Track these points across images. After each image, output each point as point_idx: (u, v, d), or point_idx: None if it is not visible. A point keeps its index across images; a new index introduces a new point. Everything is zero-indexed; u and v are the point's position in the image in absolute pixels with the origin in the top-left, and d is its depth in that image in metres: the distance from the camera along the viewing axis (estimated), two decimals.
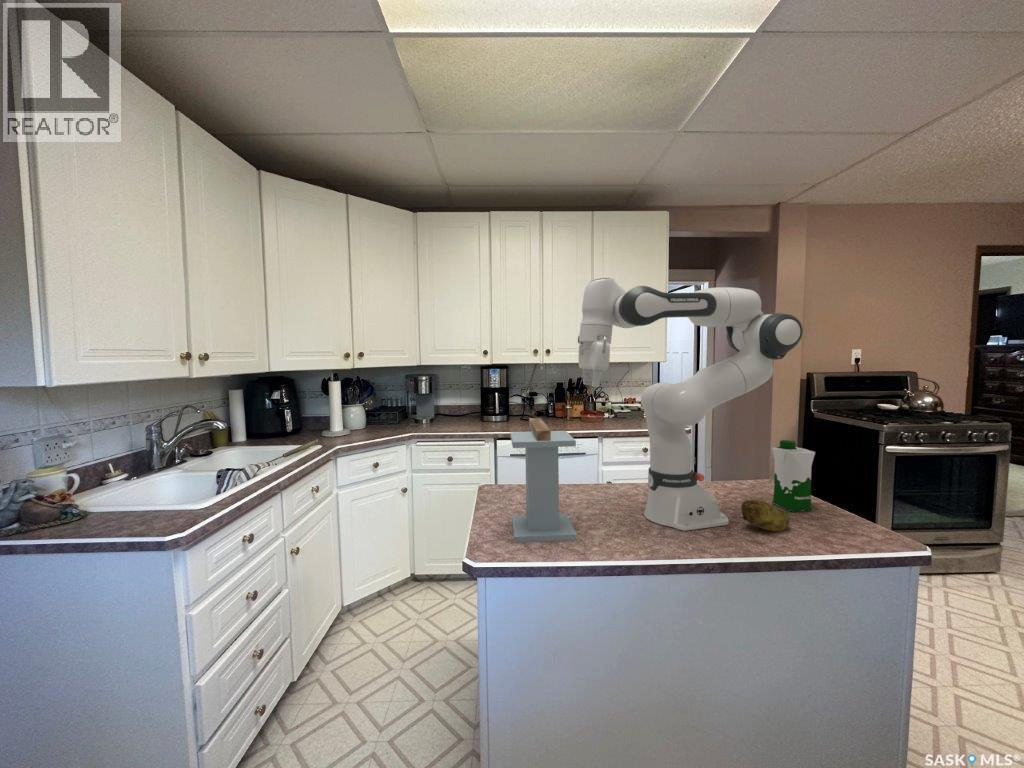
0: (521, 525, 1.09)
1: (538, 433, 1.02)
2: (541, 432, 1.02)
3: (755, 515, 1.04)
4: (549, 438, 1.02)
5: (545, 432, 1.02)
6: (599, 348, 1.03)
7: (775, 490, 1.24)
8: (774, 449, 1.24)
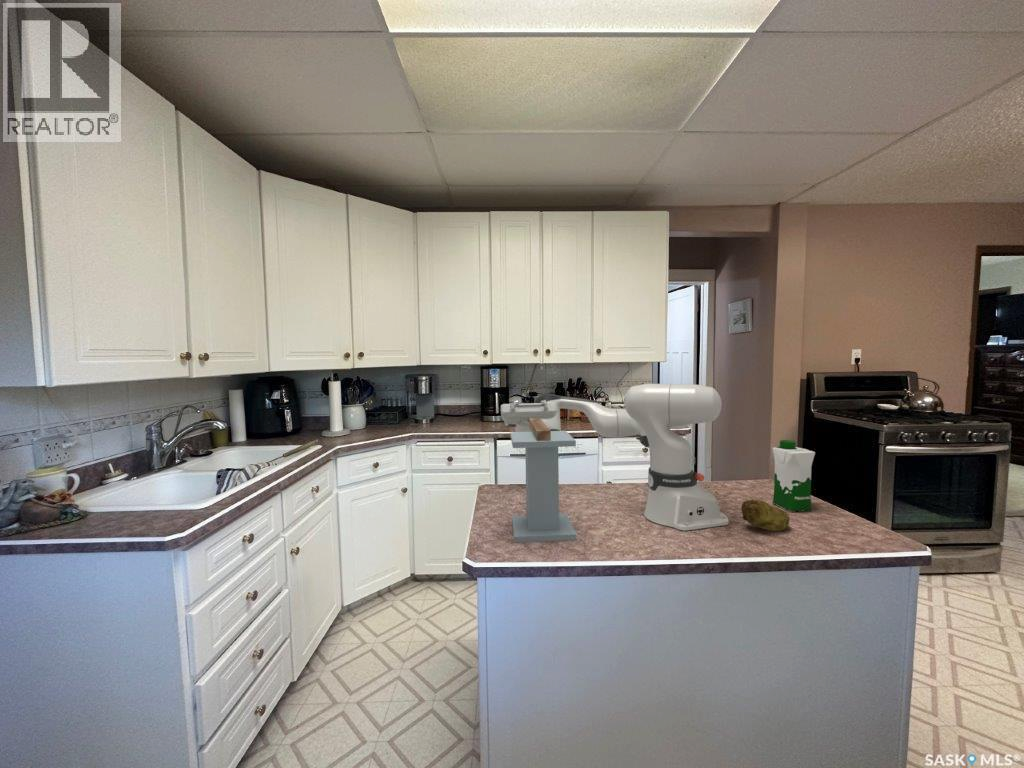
0: (521, 525, 1.09)
1: (538, 433, 1.02)
2: (541, 432, 1.02)
3: (755, 515, 1.04)
4: (549, 438, 1.02)
5: (545, 432, 1.02)
6: None
7: (775, 490, 1.24)
8: (774, 449, 1.24)
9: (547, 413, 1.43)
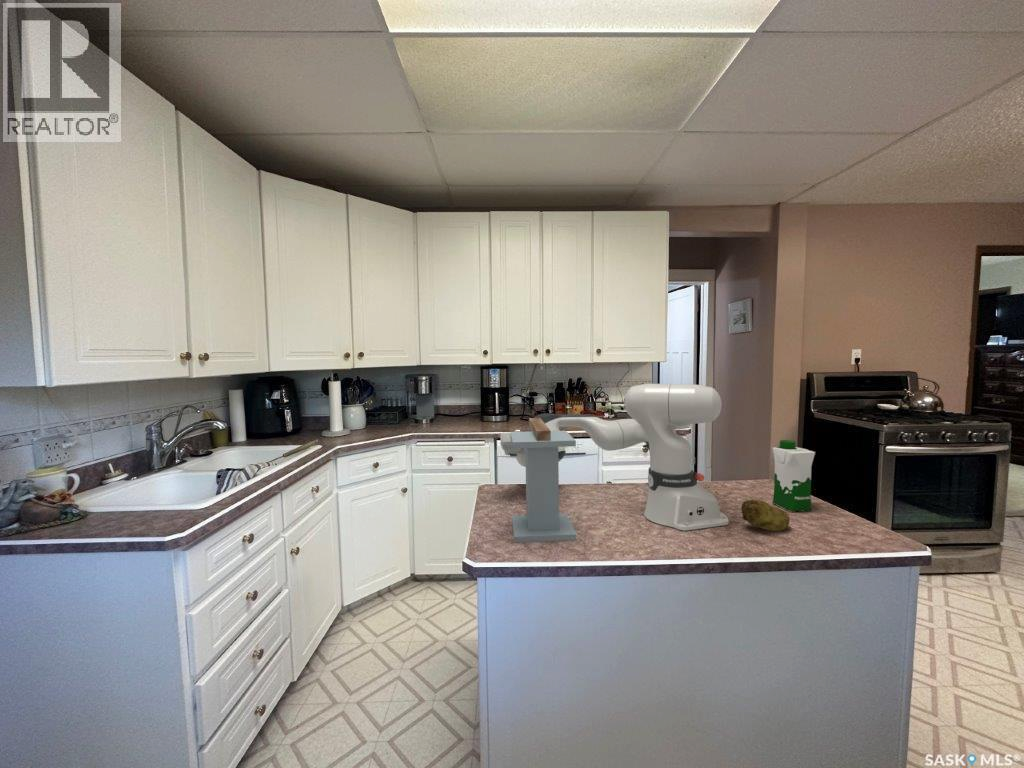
0: (521, 525, 1.09)
1: (538, 433, 1.02)
2: (541, 432, 1.02)
3: (755, 514, 1.05)
4: (549, 438, 1.02)
5: (545, 432, 1.02)
6: None
7: (775, 490, 1.24)
8: (774, 449, 1.24)
9: None
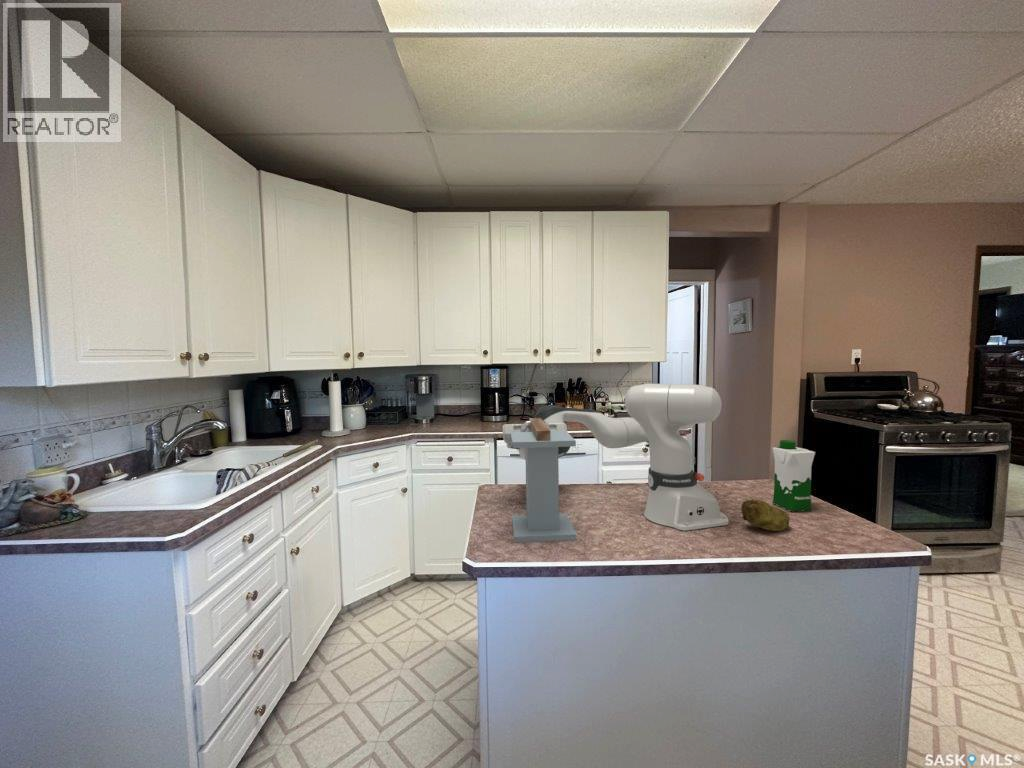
0: (521, 525, 1.09)
1: (538, 433, 1.02)
2: (541, 432, 1.02)
3: (755, 514, 1.05)
4: (549, 438, 1.02)
5: (545, 432, 1.02)
6: None
7: (775, 490, 1.24)
8: (774, 449, 1.24)
9: None
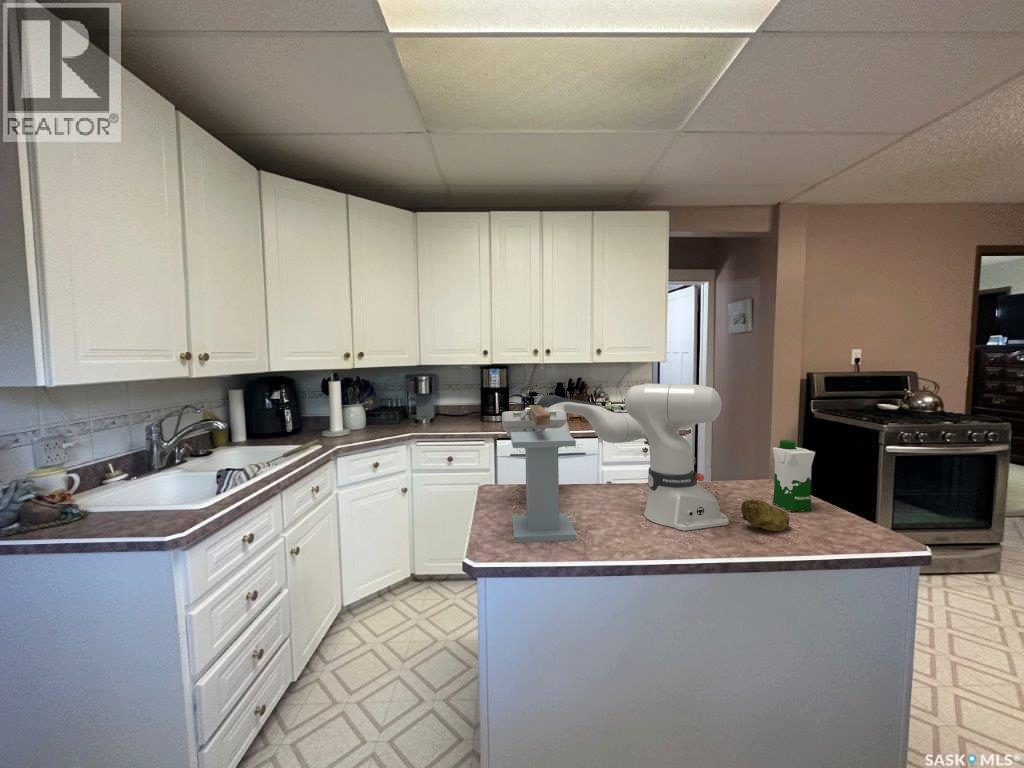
0: (521, 525, 1.09)
1: (537, 418, 1.02)
2: (540, 417, 1.02)
3: (755, 514, 1.05)
4: (548, 423, 1.02)
5: (544, 417, 1.02)
6: None
7: (775, 490, 1.24)
8: (774, 449, 1.24)
9: (555, 422, 1.24)
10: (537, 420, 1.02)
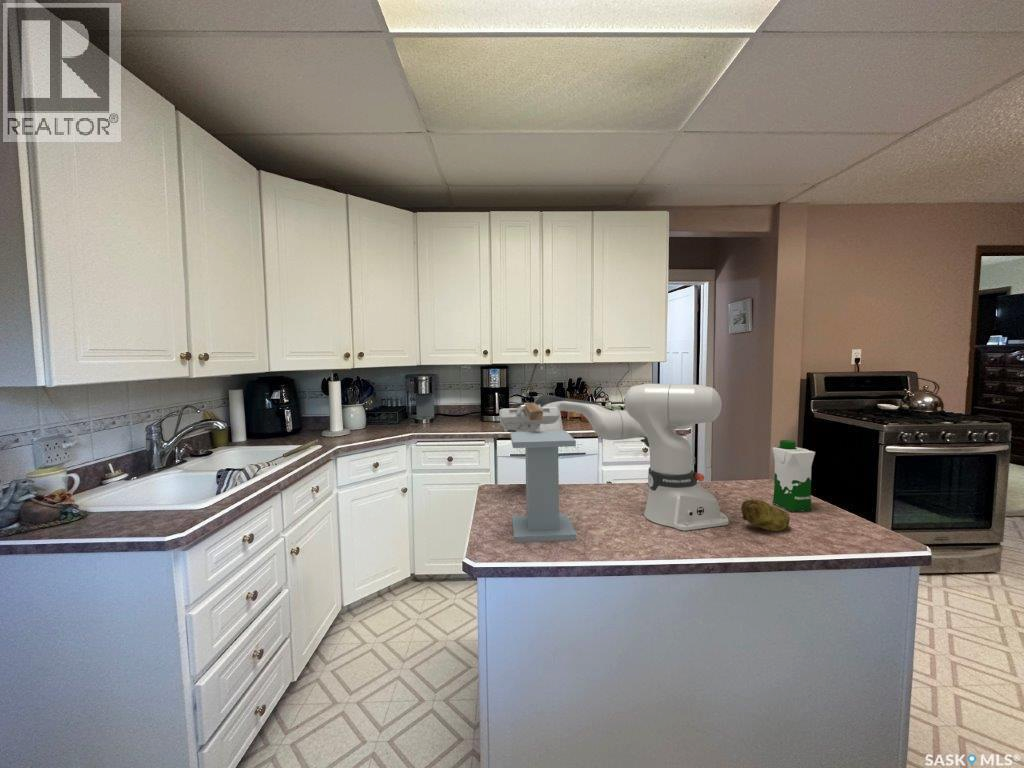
0: (521, 525, 1.09)
1: (531, 413, 1.12)
2: (534, 412, 1.12)
3: (755, 514, 1.05)
4: (541, 418, 1.12)
5: (537, 412, 1.12)
6: None
7: (775, 490, 1.24)
8: (774, 449, 1.24)
9: (549, 418, 1.34)
10: (531, 415, 1.12)
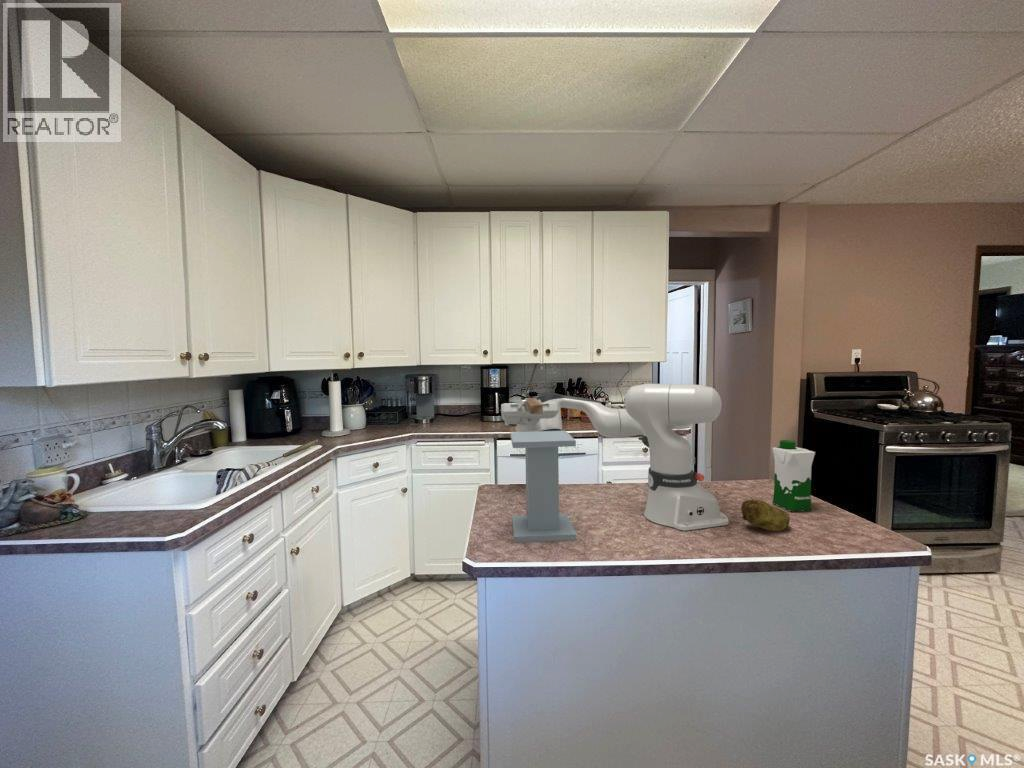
0: (521, 525, 1.09)
1: (532, 407, 1.18)
2: (534, 406, 1.18)
3: (755, 514, 1.05)
4: (541, 411, 1.18)
5: (538, 406, 1.18)
6: None
7: (775, 490, 1.24)
8: (774, 449, 1.24)
9: (548, 412, 1.40)
10: (531, 409, 1.18)
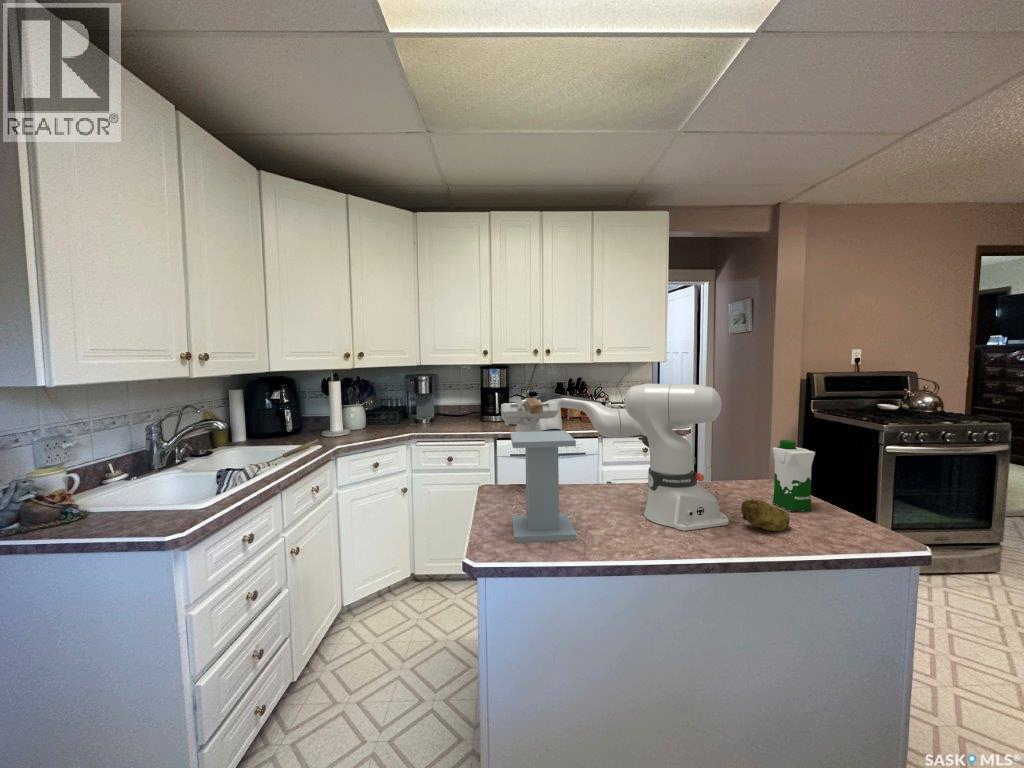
0: (521, 525, 1.09)
1: (532, 407, 1.18)
2: (534, 406, 1.18)
3: (755, 514, 1.05)
4: (541, 411, 1.18)
5: (538, 406, 1.18)
6: None
7: (775, 490, 1.24)
8: (774, 449, 1.24)
9: (548, 412, 1.40)
10: (531, 409, 1.18)
